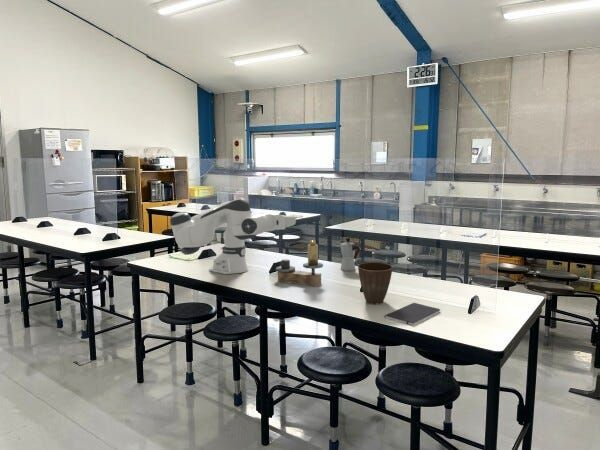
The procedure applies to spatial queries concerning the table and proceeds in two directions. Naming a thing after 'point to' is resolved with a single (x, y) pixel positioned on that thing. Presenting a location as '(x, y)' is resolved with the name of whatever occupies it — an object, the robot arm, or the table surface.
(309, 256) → the brass weight
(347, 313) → the table surface
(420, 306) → the notebook
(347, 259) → the coffee maker
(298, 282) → the balance
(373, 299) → the plant pot
